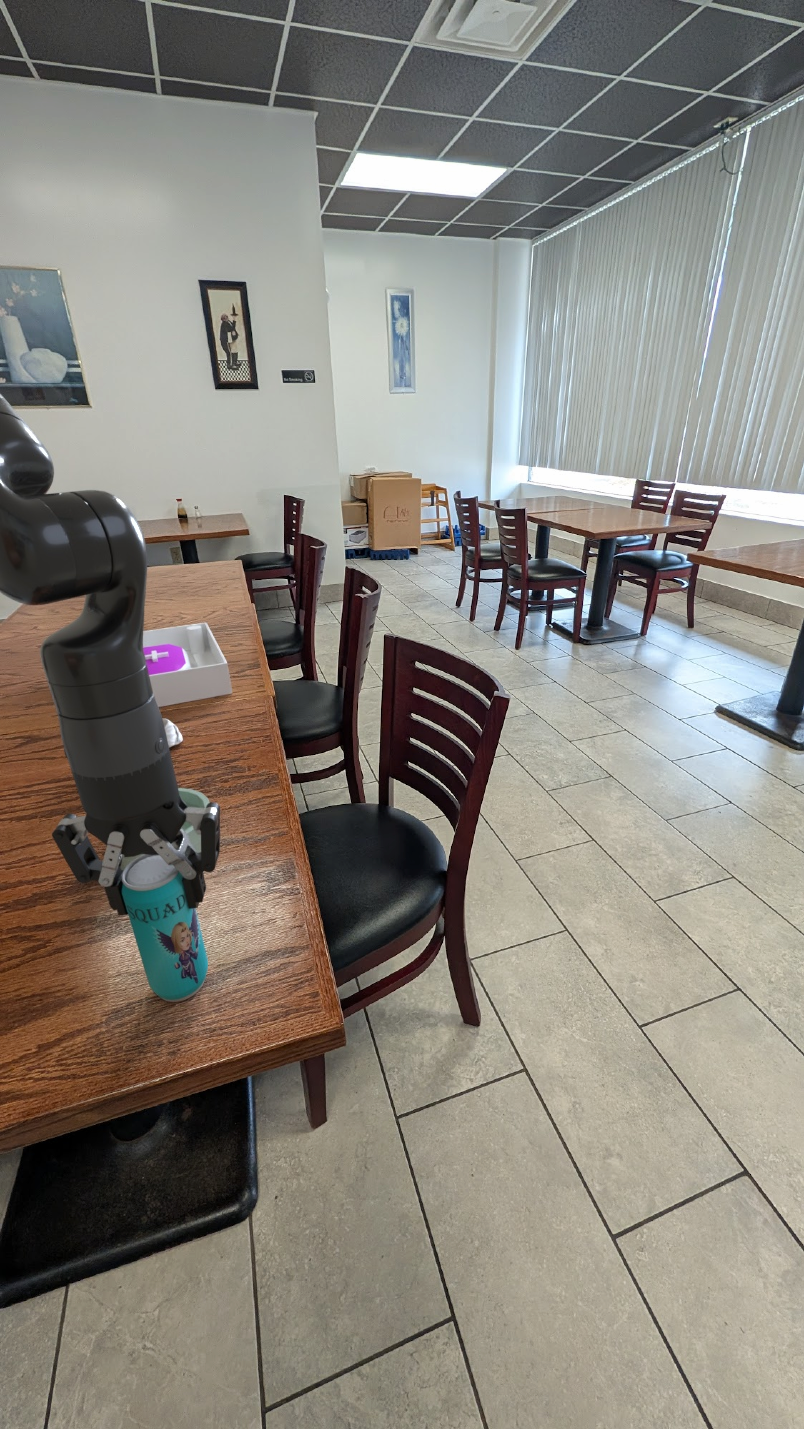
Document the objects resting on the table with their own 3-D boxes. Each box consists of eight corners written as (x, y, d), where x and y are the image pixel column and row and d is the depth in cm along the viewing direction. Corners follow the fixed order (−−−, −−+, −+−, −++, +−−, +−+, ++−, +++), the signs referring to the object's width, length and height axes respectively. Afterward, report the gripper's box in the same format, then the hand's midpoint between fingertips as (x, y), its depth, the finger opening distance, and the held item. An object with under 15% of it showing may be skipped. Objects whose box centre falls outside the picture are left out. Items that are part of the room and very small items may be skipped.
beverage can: (179, 1017, 57) (146, 898, 50) (139, 993, 59) (103, 877, 53) (222, 974, 61) (197, 859, 55) (184, 953, 64) (156, 841, 57)
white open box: (211, 647, 158) (206, 621, 155) (232, 693, 129) (227, 662, 126) (121, 661, 150) (114, 634, 147) (122, 713, 121) (114, 680, 118)
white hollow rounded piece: (188, 751, 107) (186, 728, 105) (149, 759, 104) (146, 735, 102) (177, 732, 113) (175, 709, 111) (140, 739, 110) (137, 715, 108)
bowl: (96, 883, 74) (86, 851, 72) (130, 820, 87) (122, 791, 85) (205, 873, 76) (198, 842, 73) (223, 812, 88) (218, 784, 86)
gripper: (216, 724, 52) (243, 872, 60) (49, 735, 51) (97, 885, 58) (199, 767, 46) (231, 928, 53) (5, 781, 44) (66, 943, 52)
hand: (161, 905), depth 56 cm, fingers closed on beverage can, 5 cm apart
